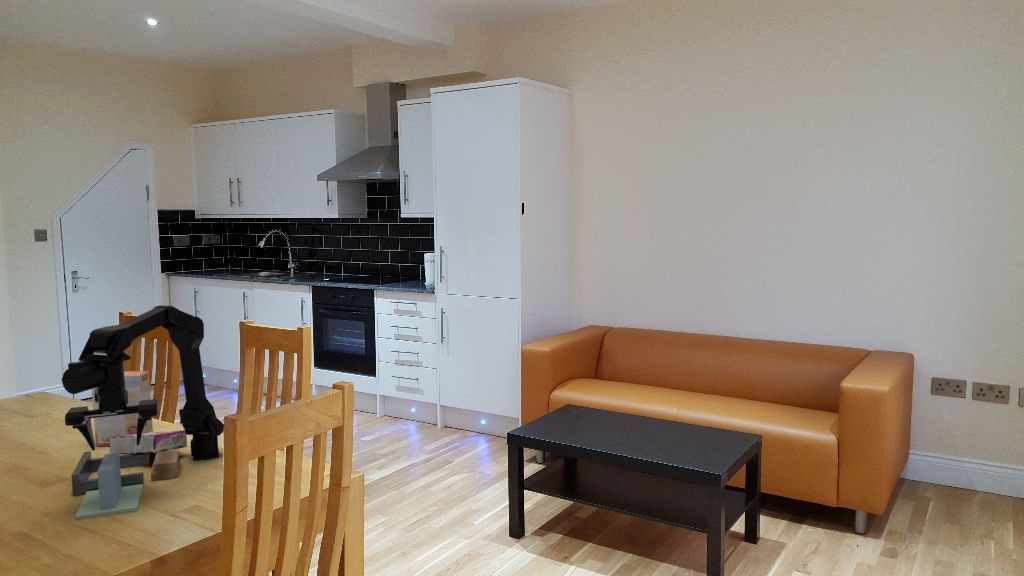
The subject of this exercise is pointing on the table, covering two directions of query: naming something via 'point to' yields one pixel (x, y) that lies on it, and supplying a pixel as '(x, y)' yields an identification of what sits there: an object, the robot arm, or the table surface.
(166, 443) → the candy bar box
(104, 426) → the cracker box
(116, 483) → the grey panel
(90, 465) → the rack
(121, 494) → the mat
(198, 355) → the robot arm
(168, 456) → the offcut pile
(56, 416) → the table surface
